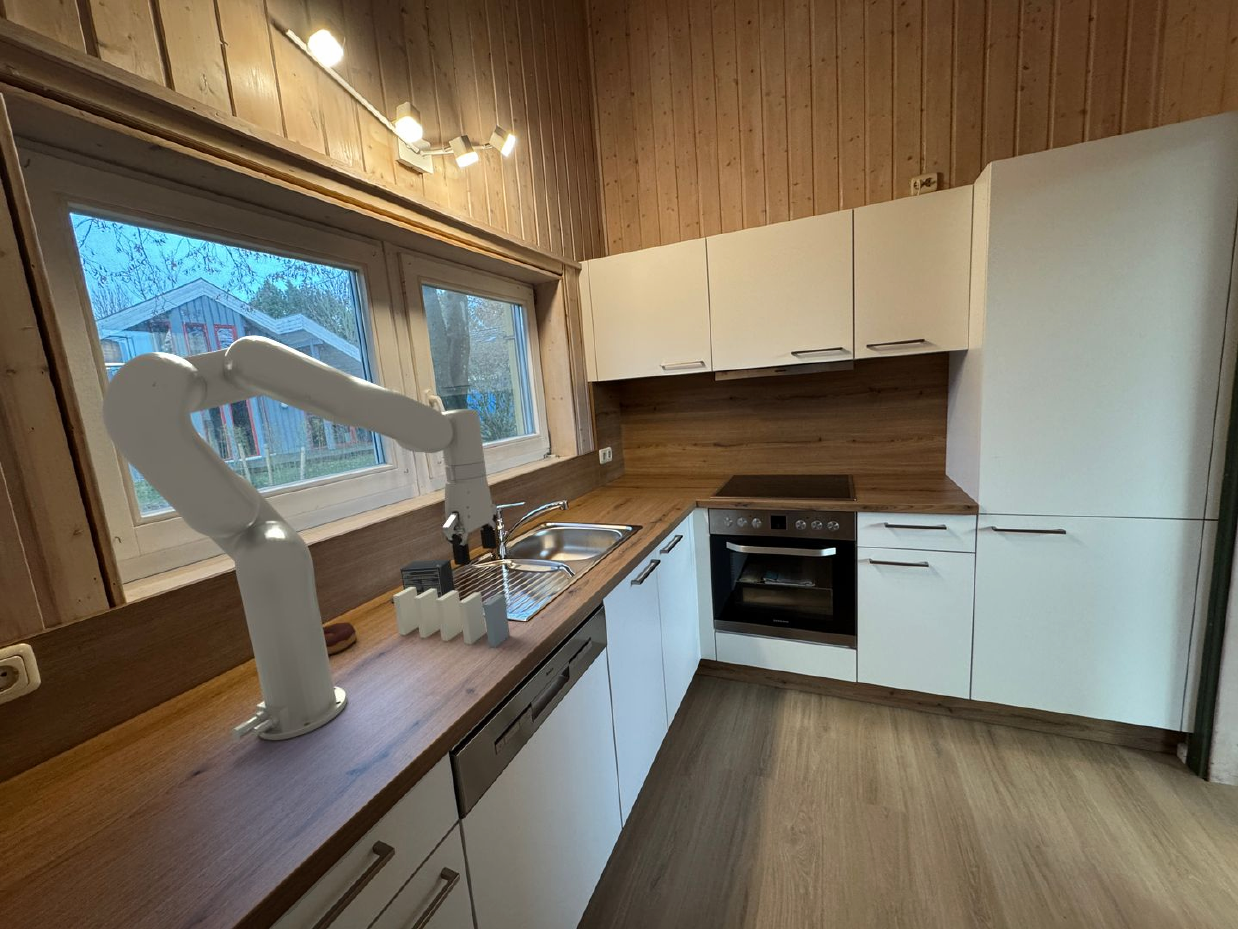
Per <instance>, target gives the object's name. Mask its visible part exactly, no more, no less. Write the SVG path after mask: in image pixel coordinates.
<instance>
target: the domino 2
mask: <svg viewBox="0 0 1238 929" xmlns="http://www.w3.org/2000/svg"><path fill="white" fill-rule="evenodd" d="M436 599H438V594H437V589H432V588H431V589H429V590H427V591H425V592H424V593H422V594H420V595H418V596H416V597H414V601H415V607H416V614H417V620H418V626H419V627H418V632H419V637H420V638H421V639H428V637H430V636H431V635H433V634H434V633H436V632H437V631H439V630H440V624H439V617H438V611H437V604H436Z"/></svg>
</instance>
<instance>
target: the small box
mask: <svg viewBox="0 0 1238 929" xmlns="http://www.w3.org/2000/svg"><path fill="white" fill-rule="evenodd" d="M451 562H452V561H451V558H448V559H434V560H433V559H431V560H429V559H428V560H417V561H411V562H410V563H408V564H407V565H405V566H403V567H401V568H400V573H401V574H400V575H401V580H402V586H403V590H405V589H407V588H409V587H416V591H417V596H418V595H420V594H422V593H424V592H425V591H427V590H429V589H431V588H432V589H437V594H438V598H440V597H442V596H443V595H445V594H447V593H449V592H450V591H452V590H455V591H456V588H455V583H454V575H453V574H454V573H453V568H452V563H451Z"/></svg>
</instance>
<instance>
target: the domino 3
mask: <svg viewBox="0 0 1238 929" xmlns="http://www.w3.org/2000/svg"><path fill="white" fill-rule="evenodd" d="M460 601H461V600H460V594H459V590H456V589H455V590H452V591H450V592H449V593H447V594H445V595H443V596H442V597H440V598H438V599H436V604H437V611H438V617H439V624H440V629H439V630H440V635H441V636H440V637H441V641H442V642H449V641H451V640H452V639H453V638H455V637H457V635H459V634H461V633H463V628H462V621H461V614H460V607H459V602H460Z"/></svg>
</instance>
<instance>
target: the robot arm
mask: <svg viewBox="0 0 1238 929" xmlns="http://www.w3.org/2000/svg"><path fill="white" fill-rule="evenodd" d="M259 396H262V397H263V396H264V397H266V398H268V399H271V400H274V401H275V402H279V403H281V404H283V405H287V406H290V407H291V408H295V409H296V410H300V411H302V412H304V413H308V414H311V415H312V416H315V417H318V418H319V419H322V420H325V421H327V422H330V423H331V422H332V423H334V424H337V425H340V426H341V425H342V426H345V427H352V428H358V429H362V430H366V431H369V432H372V433H375V434H378V435H382V436H384V437H387V438H390V439H392V440H395V442H396V443H397V444H398V445H399V446H400V447H401V448H403V449H405V450H406V451H408V452H415V453H426V454H436V453H439V452H441V451H442V453H443V462H444V469H445V476H446V483H445V486H444V509H445V523H444V524H443V526H442V529H441V530H442V531H443V533H444V535H445V537H446V538H445V539H446V540H447V541H448V542H449V545H450V546H451V547H452V554H453V561H454V565H456V566H469V565H470V564H471V556H470V554H471V553H470V548H469V543H467V540H468V536H469V533H471V532H474V531H476V530H478V529H480V528H481V529H480V538H481V539H480V540H481V548H482V549H487V550H489V549H490V550H493V549H497V548H498V546H497V545H498V544H497V543H498V542H497V536H496V529H497V525H496V521H497V518H498V517H497V512H498V506H497V505H496V504H494V503H493V502H492V495H491V490H490V486H489V481H488V478H487V471H486V470H487V468H486V462H485V455H484V446H483V437H482V430H481V428H482V427H481V421H480V416H479V412H478V411H477V410H475V409H473V408H461V409H459V408H458V409H448V410H443V411H442V412H441V411H439V410H437V409H435V408H433V407H431V406H429V405H426V404H424V403H422V402H419V401H417V400H415V399H413V398H410V397H408V396H406V395H403V394H402V393H398V392H397V391H394V390H392V389H391V390H390V389H388V388H386V387H382V386H380V385H377V384H375V383H372V382H370V381H367V380H365V379H363V378H360V377H357V376H354V375H352V374H350V373H347V372H346V371H343V370H340V369H338V368H336V367H334V366H331V365H329V364H327V363H324V362H323V361H320V360H318V359H316V358H314V357H311V356H309V355H307V354H305V353H303V352H302V351H301V352H300V351H298V350H297V349H294V348H292V347H289V346H287V345H285V344H283V343H280V342H278V341H275V340H273V339H270V338H268V337H265V336H259V335H248V336H247V335H246V336H243V337H241V338H239V339H237V340H235V341H234V342H233V343H231V344H230V346H228V347H226V348H222V349H219V350H214V351H210V352H205V353H199V354H194V355H188V356H183V357H180V356H178V355H176V354H175V355H174V354H171V353H166V352H155V351H153V352H147V353H142V354H139V355H136V356H135V357H132V358H130V359H129V360H128V361H126V362H125V363H124V364H123V365H121V366H120V368H119V369H118V370H117V371H116V373H115V374H114V375H113V377H112V378H111V380H110V381H109V383H108V385H107V387H106V390H105V392H104V395H103V400H102V418H103V423H104V428H105V429H106V431H107V432H106V433H107V434H108V436H109V439H110V440H111V443H112V444H113V445H114V447H115V448H116V449H117V451H118V452H119V453H120V454H121V455H122V457H123V458H124V459H125V460H126V461H127V463H129V464H130V466H132V467H133V468H134V469H135V471H137V473H139V475H141V476H142V478H143V479H144V480H145V481H146V482H147V483H148V484H149V485H150V486H151V487H152V489H154V491H156V493H157V494H158V495H160V496H161V498H163V500H164V501H166V502H167V503H168V504H169V505H170V507H172V508H173V509H174V510H175V511H176V513H178V514H179V516H180V517H181V518H182V519H183V520H184V522H185V524H187V525H188V526H189V528H191V529H192V530H193V531H195V532H197V534H201V535H203V536H206V537H209V538H210V539H211V541H213V542H214V543H215V545H216V546H218V547H219V548H220V549H221V550H222V551H223V552H224V553H225V554H226V555H227V556H229V558H230V559H232V560H233V562H234V569H235V573H236V580H237V583H238V587H239V590H240V596H241V600H242V604H243V610H244V615H245V619H246V624H247V627H248V632H249V638H250V641H251V645H252V650H253V655H254V659H255V660H254V661H255V665H256V669H257V674H258V675H257V676H258V679H259V684H260V689H261V693H262V697H263V698H262V699H263V701H262V702H260V703H258V704H257V705H256V707H257V712H255V713H254V714H253V716H252V717H251V718H250V719H247V720H246V721H244V722H242V723H241V724H239V725H237V726H235V727H234V728H232V729H231V735H232V738H233V739H234V740H235V741H238V742H239V741H240V740H242V739H243V738H245V737H247V736H248V735H250V734H251V733H252V735H253V736H254V737H260V738H262V739H265V740H269V741H280V740H287V739H292V738H296V737H299V736H301V735H305V734H307V733H311V732H312V731H314V730H316V729H318V728H320V727H322V726H324V725H326V724H327V723H329V722H330V721H331V720H332V719H334V718H336V717H337V716H338V715H339V714H340V713H341V712H342V711H343V710H344V708H345V706H346V705H347V702H348V697H347V693H346V690H345V689H343V688H341V687H338V686H334V685H335V684H334V681H333V674H332V669H331V665H330V659H329V655H328V653H327V648H326V642H325V637H324V632H323V627H324V626H323V623H322V617H321V611H320V607H319V600H318V596H317V588H316V581H315V580H316V579H315V570H314V563H313V557H312V555H311V554H312V553H311V551H310V549H309V547H308V544H307V543H306V542H305V540H304V539H303V537H302V536H300V534H299V533H298V532H297V531H296V530H295V529H294V528H293V527H292V526H291V525H290V524H289V523H288V521H286V520H285V519H284V517H283V516H282V515H281V514H280V512H278V511H277V510H276V508H274V506H272V504H271V503H270V502H269V501H268V500H267V499H266V498H265V497H264V496H263V494H262V493H261V492H260V491H259V490H258V489H257V488H256V487H255V486H254V485H253V484H252V482H251V481H249V480H248V479H247V478H246V477H244V476H242V475H241V474H238V473H236V471H234V470H233V469H232V467H231V466H229V465H228V464H227V463H226V461H225V460H224V459H223V458H222V457H221V456H220V455H219V454H218V453H217V452H216V451H215V449H214V448H213V447H212V445H211V444H210V443H209V442H208V441H207V440H206V439H205V438H204V436H202V434H201V433H200V432H199V431H198V429H197V428H196V427H195V425H194V424H193V421H192V418H191V414H194V413H197V412H202V411H206V410H209V409H214V408H218V407H222V406H227V405H231V404H233V403H238V402H242V401H245V400H249V399H253V398H256V397H259ZM459 534H460V535H461V536H460V535H459Z"/></svg>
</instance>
